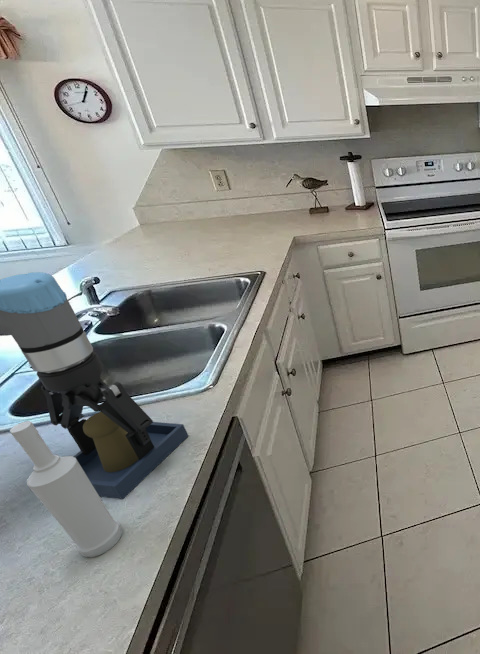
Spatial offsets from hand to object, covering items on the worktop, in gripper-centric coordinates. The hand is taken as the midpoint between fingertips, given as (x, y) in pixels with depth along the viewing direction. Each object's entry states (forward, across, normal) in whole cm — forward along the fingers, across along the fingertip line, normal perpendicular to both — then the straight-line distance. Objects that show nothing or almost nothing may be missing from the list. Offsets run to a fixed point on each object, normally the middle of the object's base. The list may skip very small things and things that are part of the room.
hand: (119, 452), depth 79 cm
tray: (+3, 0, 0) cm, 3 cm away
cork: (+2, 0, 0) cm, 2 cm away
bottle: (+3, -12, +14) cm, 19 cm away
